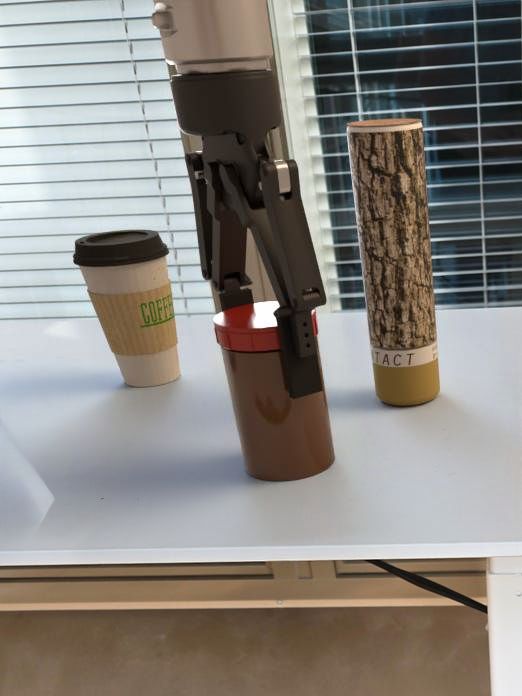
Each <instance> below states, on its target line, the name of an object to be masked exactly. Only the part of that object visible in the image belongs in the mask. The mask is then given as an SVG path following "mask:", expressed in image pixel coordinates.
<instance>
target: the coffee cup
mask: <svg viewBox="0 0 522 696" xmlns="http://www.w3.org/2000/svg"><path fill="white" fill-rule="evenodd" d="M169 254H170V249H169V248H168V245H167V243H165V242H163V239H162V237H161V235H160V233H159V232H158V231H156V230H154V229H153V230H152V229H120V230H112V231H106V232H105V231H104V232H98V233H93V234H89V235H88V234H87V235H85V236H82V237H79V238H77V239H76V240H74V253H73V254H72V258H73V259H72V263H73V264H74V265H75V266H77V267H78V268H79V270H80V272H81V275H82V277H83V280H84V282H85V285H86V287H87V289H86V292H87V294H88V297H89V299H90V301H91V304H92V306H93V309H94V312H95V314H96V316H97V319H98V322H99V323H100V327H101V328H102V332H103V334H104V336H105V340H106V341H107V344H108V347H109V349H110V351H111V353H112V354H113V356H114V358H115V360H116V363H117V366H118V368H119V371H120V373H121V376H122V378H123V380H124V383H125V384H126V385H127V386H130V387H135V388H136V387H137V388H148V387H149V388H150V387H157V386H162V385H166V384H169V383H171V382H173V381H176V380H177V379H178V380H179V378H180V377H181V367H180V360H179V350H178V343H179V342H178V341H179V340H178V331H177V324H176V315H175V307H174V299H173V291H172V290H173V289H172V282H171V279H170V278H169V269H168V261H167V256H168V255H169Z"/></svg>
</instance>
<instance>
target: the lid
mask: <svg viewBox="0 0 522 696" xmlns="http://www.w3.org/2000/svg"><path fill="white" fill-rule="evenodd" d="M278 307H280V306H279V304H278V301H277V300H276V301H264V302H263V301H262V302H254V304H248V305H243V306H238V307H234V308H231V309H228V310H225V311H223V312H222V311H221V312H219V313H218V314H216V315H215V316H214V317H213V319H212V320H213V325H214V326H213V327H214V329H213V330H214V334H215V340H216V343H217V344H218V345H219V347H220V346H222V347H224V348H227V349H231V350H237V351H268V350H277V349H281V345H280V339H279V333H278V327H277V321H276V318H275V316H274V315H273V312H274V311H275V310H276V309H278ZM312 322H313V328H314V335H315V337H316V336H319V324H318V318H317V310H316V308H315V309H314V310H312Z"/></svg>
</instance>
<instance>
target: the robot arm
mask: <svg viewBox="0 0 522 696" xmlns="http://www.w3.org/2000/svg"><path fill="white" fill-rule="evenodd" d="M152 1H153V6H154V7H153V8H154V11H155V12H153V13H151V16H150V20H151V23H152V26H153V27H154V28H155V29H156V30H159V36H160V40H161V45H162V50H163V54H164V55H163V56H164V60H165V61H166V62H167V63H168V64H169V65H172V66H173V65H174V66H175V70H176V72H177V74H172V75H170V78H171V80H169V81H168V83H169V88H170V92H171V98H172V102H173V107H174V111H175V116H176V117H175V118H176V121H177V126H178V128H179V130H180V132H182V133H183V134H185V135H187V136H193V137H195V136H196V137H201V138H200V139H201V150H199V151H192V152H185V155H184V161H185V166H186V169H187V174H188V177H189V182H190V186H191V194H192V195H191V196H192V203H193V212H194V220H195V229H196V236H197V237H196V239H197V246H198V254H199V255H198V256H199V263H200V271H201V276H202V278H203V280H205V281H206V282H207V281H211V284H212V287H213V289H214V291H215V292H216V293H218V298H219V299H218V300H219V303H220V307H221V308H220V309H221V312H223V311H225V310H228V309H231V308H234V307H238V306H243V305H248V304H254V303H255V301H254V296H253V290H252V288H250V287H248V286H252V285H253V283H254V282H253V280H252V279H251V278H250V277H249V275H247V273H246V266H247V265H246V263H247V247H248V246H247V243H248V229H249V231H250V233H251V236H252V238H253V241H254V243H255V246H256V248H257V251H258V253H259V256H260V259H261V262H262V264H263V267H264V269H265V272H266V275H267V277H268V280H269V282H270V285H271V287H272V291H273V293H274V296H275V298H276V301H278V304H279V306H280V307H278V309H276V310H275V311H274V312H273V315H274V316H275V318H276V321H277V327H278V333H279V339H280V345H281V351H282V356H283V362H284V368H285V374H286V380H287V386H288V392H289V397H290V398H293V399H296V398H300V397H303V396H307V395H310V394H314V393H317V392H321V391H323V389H322V382H321V376H320V369H319V362H318V355H317V349H316V342H315V335H314V328H313V322H312V310H314V309H315V310H316V308H319V307H322V306H326V305H327V294H326V291H325V287H324V282H323V278H322V274H321V270H320V266H319V262H318V259H317V255H316V250H315V245H314V241H313V238H312V234H311V230H310V226H309V223H308V218H307V214H306V211H305V210H306V209H305V207H304V203H303V199H302V193H301V183H300V182H301V181H300V170H299V165H298V163H297V161H296V160H295V158H290V159H280V160H278V159H275V156H274V153H273V150H272V147H271V144H270V140H269V137H268V134H269V132H270V131H273V130H277V129H279V128H280V127H281V126H282V124H283V122H284V119H283V110H282V103H281V98H280V91H279V84H278V78H277V77H278V76H277V74H276V73H274V70H273V69H272V68H271V69H268V64H267V63H268V61H267V60H271V59H272V58H273V56H274V49H273V42H272V41H273V40H272V34H271V28H270V21H269V15H268V9H267V0H152ZM242 287H243V288H242ZM244 287H246V288H244Z"/></svg>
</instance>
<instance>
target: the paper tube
mask: <svg viewBox="0 0 522 696" xmlns="http://www.w3.org/2000/svg"><path fill="white" fill-rule="evenodd" d="M422 121H423V119H421V118H382V119H367V120H358V121H351V122H348V123H345V124H346V137H347V148H348V155H349V157H348V158H349V167H350V174H351V183H352V192H353V193H352V194H353V202H354V211H355V212H354V213H355V220H356V229H357V238H358V246H359V247H358V248H359V256H360V265H361V274H362V275H361V276H362V282H363V283H362V284H363V293H364V299H365V300H364V302H365V310H366V320H367V321H366V322H367V331H368V339H369V346H370V356H371V362H372V363H371V364H372V373H373V381H374V390H375V395H376V397H377V398H378V399H379V400H380V401H381V402H383V403H385V404H388V405H391V406H400V407H401V406H403V407H404V406H406V407H407V406H416V405H420V404H421V405H422V404H425V403H428V402H430V401H432V400H434V399H435V398H436V397H438V395H439V393H440V391H441V381H440V380H441V379H440V367H439V347H438V334H437V333H438V332H437V318H436V305H435V304H436V303H435V302H436V301H435V288H434V273H433V261H432V260H433V259H432V246H431V245H432V243H431V233H430V232H431V231H430V230H431V228H430V216H429V215H430V214H429V213H430V212H429V201H428V186H427V172H426V171H427V170H426V155H425V142H424V141H425V140H424V139H425V138H424V126H423V123H422Z"/></svg>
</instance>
